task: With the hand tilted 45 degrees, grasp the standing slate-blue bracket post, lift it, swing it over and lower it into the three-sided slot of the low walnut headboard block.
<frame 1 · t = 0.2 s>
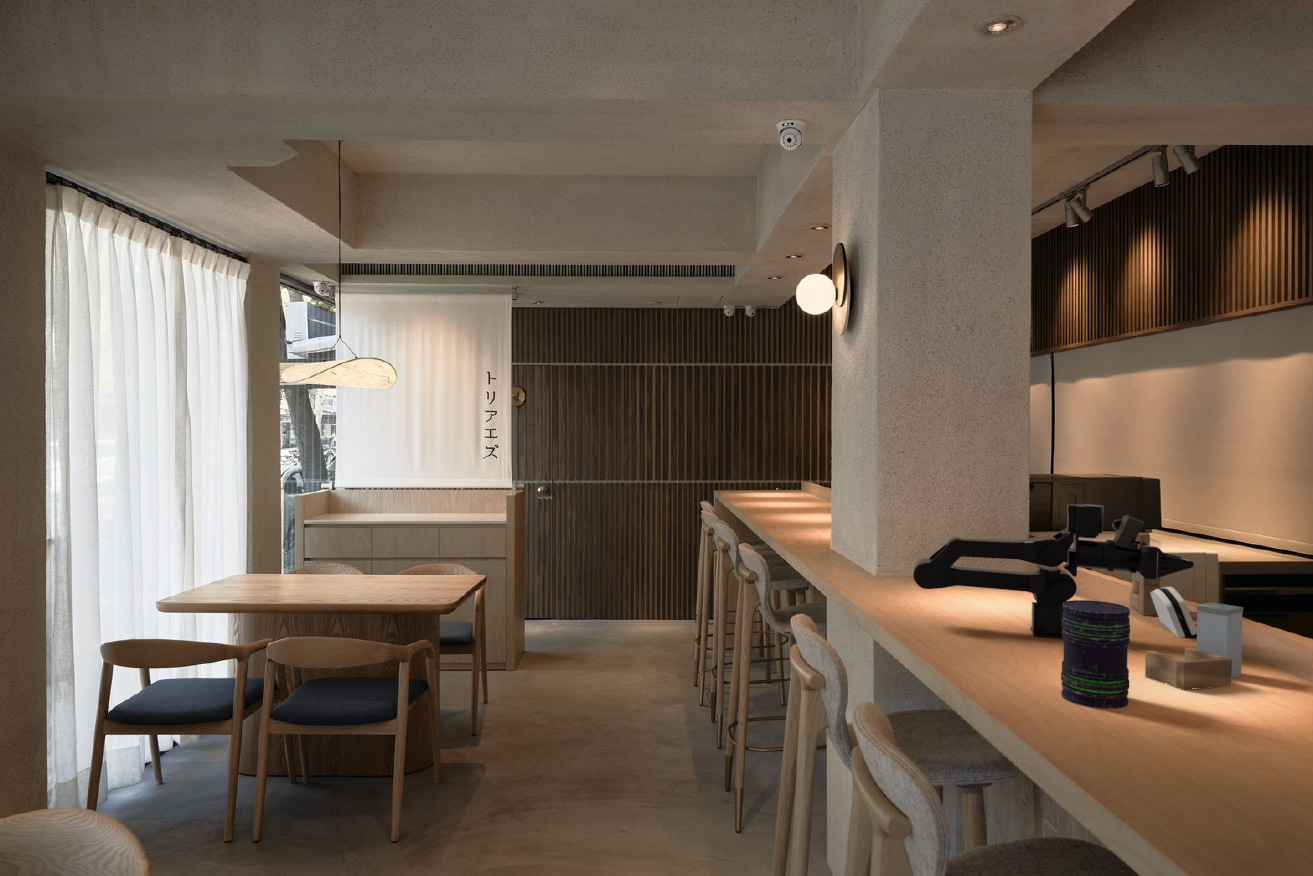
hand: (1186, 562, 177), 17 cm above the counter, tool horizontal, fingers open, 9 cm apart
headboard block: (1182, 679, 153), on the counter
rail post: (1218, 673, 157), on the counter
storage jar: (1094, 700, 142), on the counter
wooden block: (1144, 612, 209), on the counter
hinge: (1174, 630, 191), on the counter
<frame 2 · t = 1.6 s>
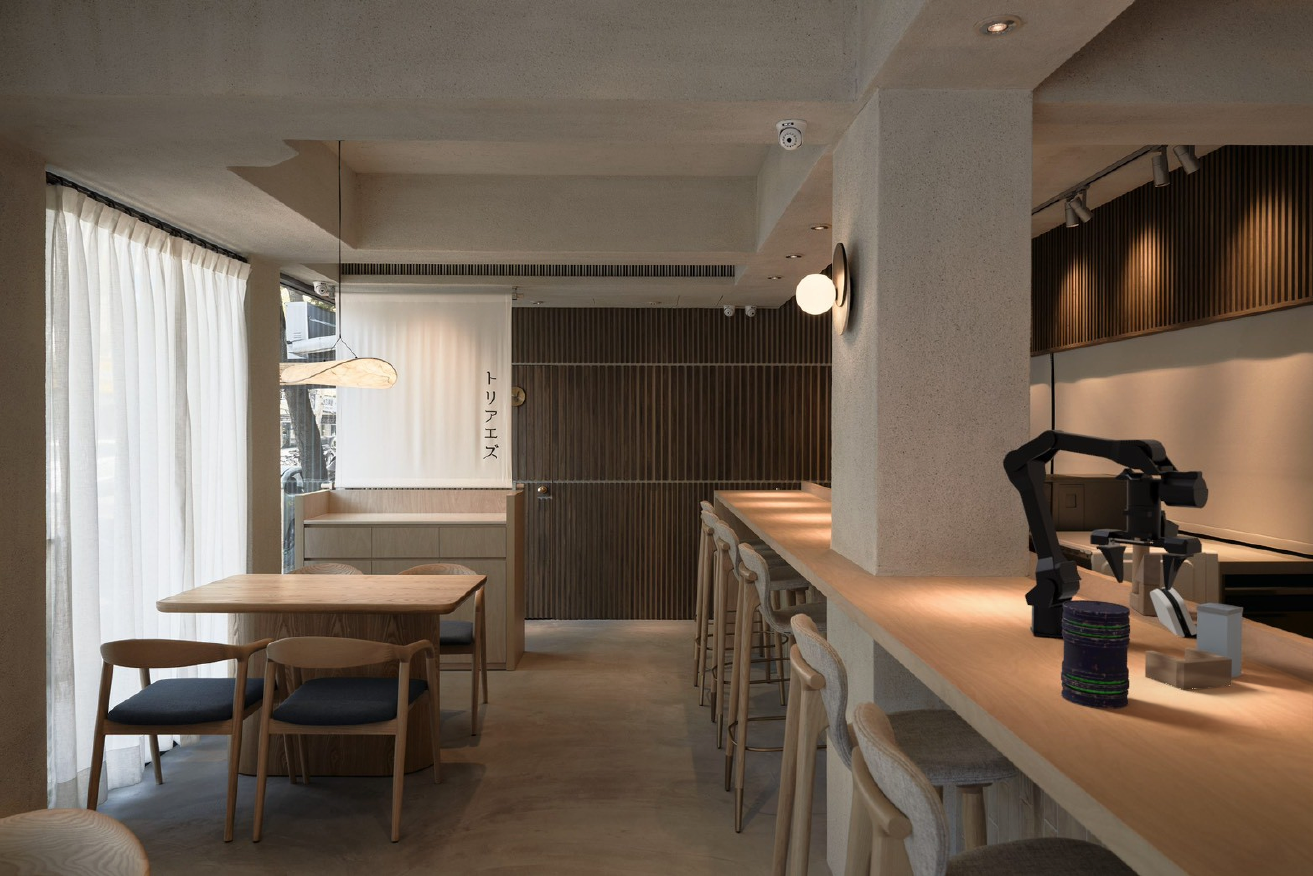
hand: (1143, 586, 169), 13 cm above the counter, tool pointing down, fingers open, 9 cm apart
nothing on the counter moved.
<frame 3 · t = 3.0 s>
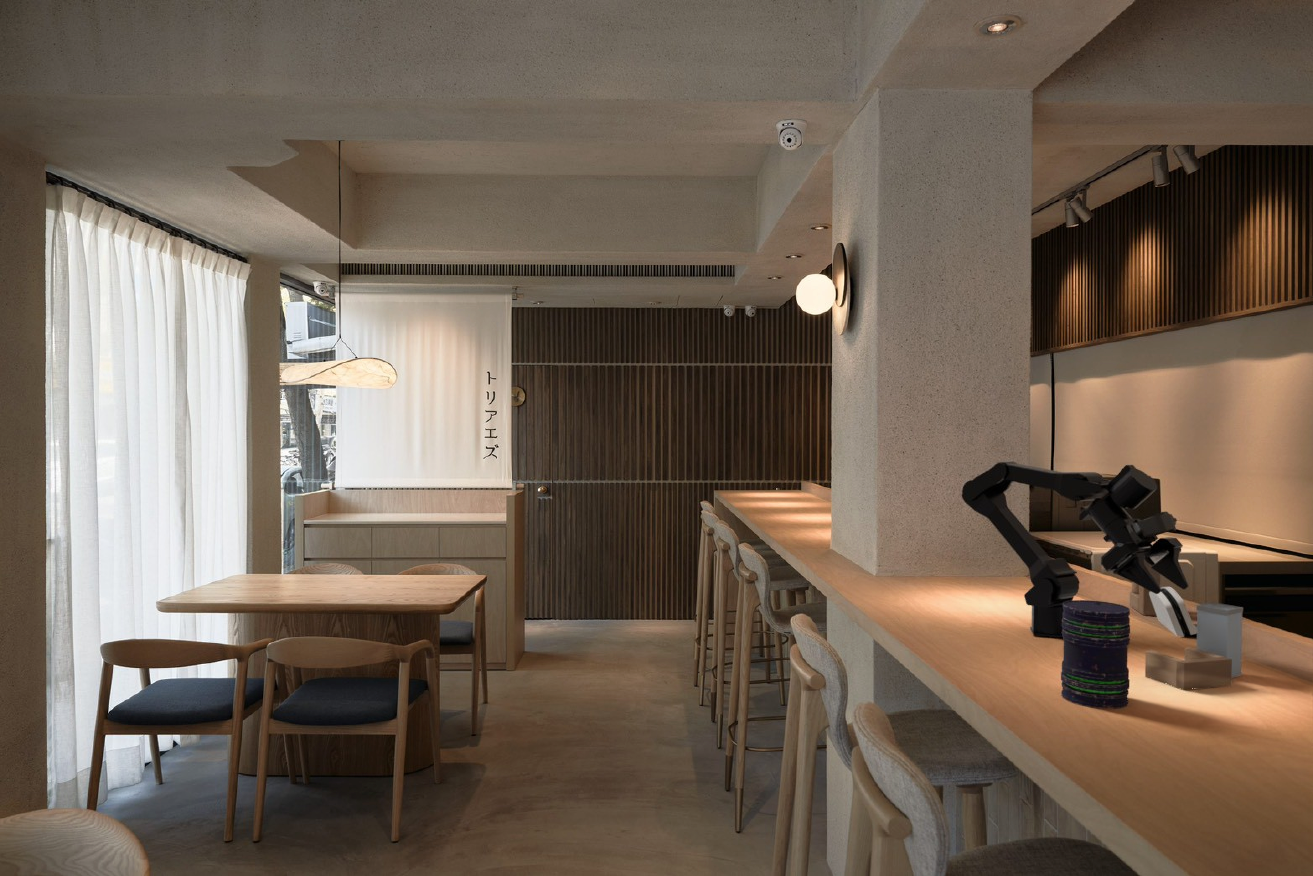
hand: (1173, 590, 163), 13 cm above the counter, tool tilted 45°, fingers open, 9 cm apart
nothing on the counter moved.
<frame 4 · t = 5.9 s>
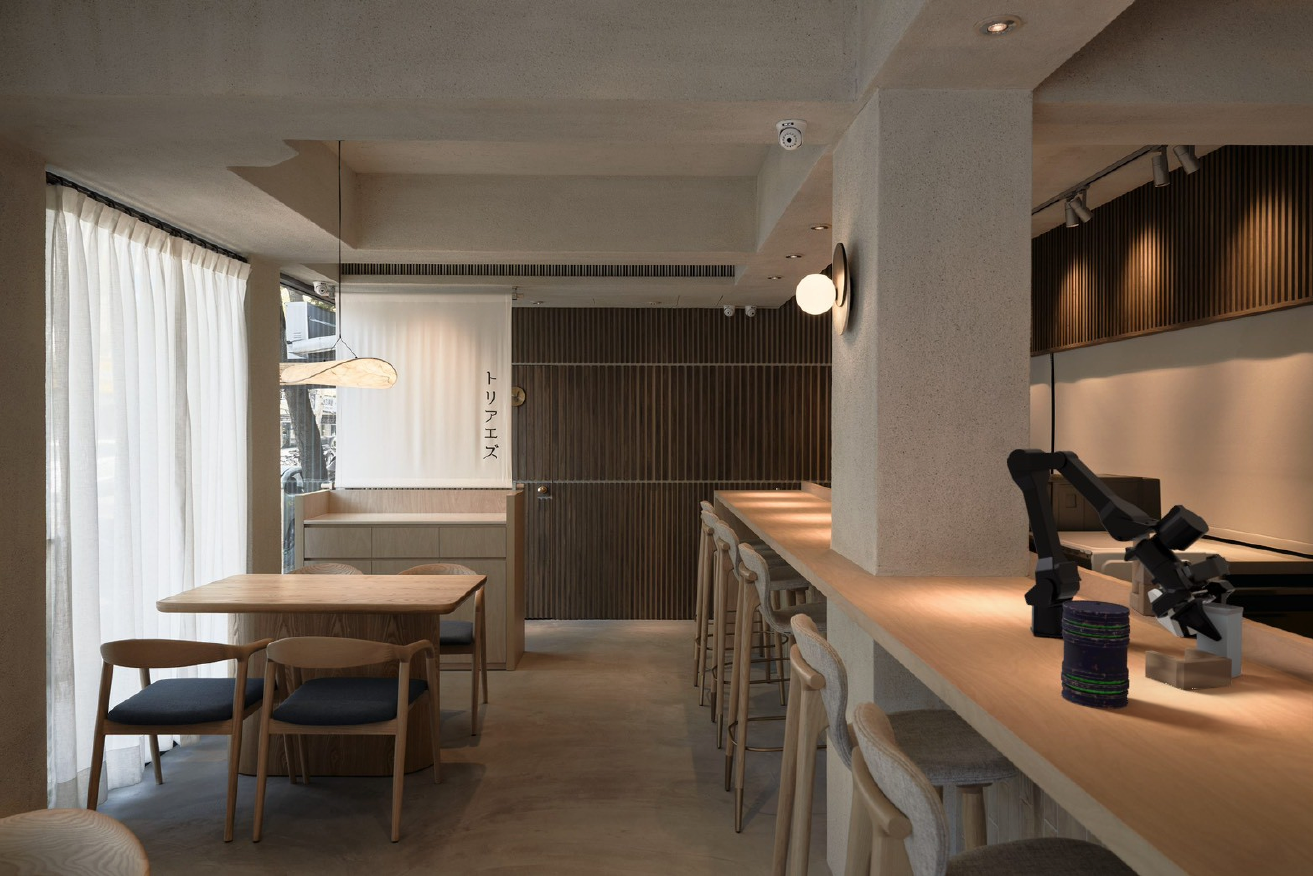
hand: (1227, 638, 155), 7 cm above the counter, tool tilted 45°, fingers closed on rail post, 5 cm apart
rail post: (1218, 673, 157), on the counter, touching gripper
everything else where it was.
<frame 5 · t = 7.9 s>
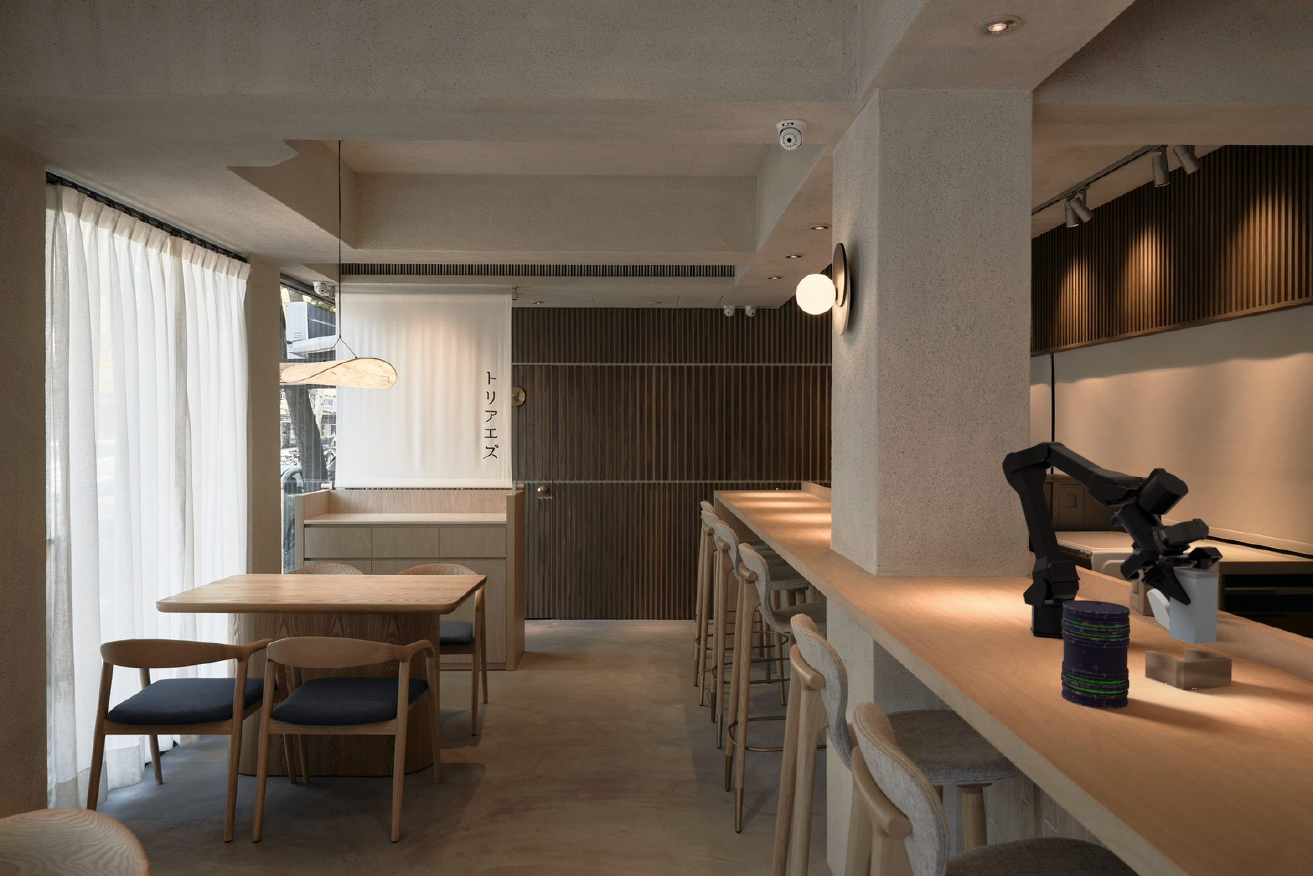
hand: (1200, 603, 152), 13 cm above the counter, tool tilted 45°, fingers closed on rail post, 5 cm apart
rail post: (1192, 639, 153), point 7 cm above the counter, touching gripper
everything else where it was.
when the fingers open (7 cm above the counter, at t = 10.0 s): rail post stays where it is, on the counter.
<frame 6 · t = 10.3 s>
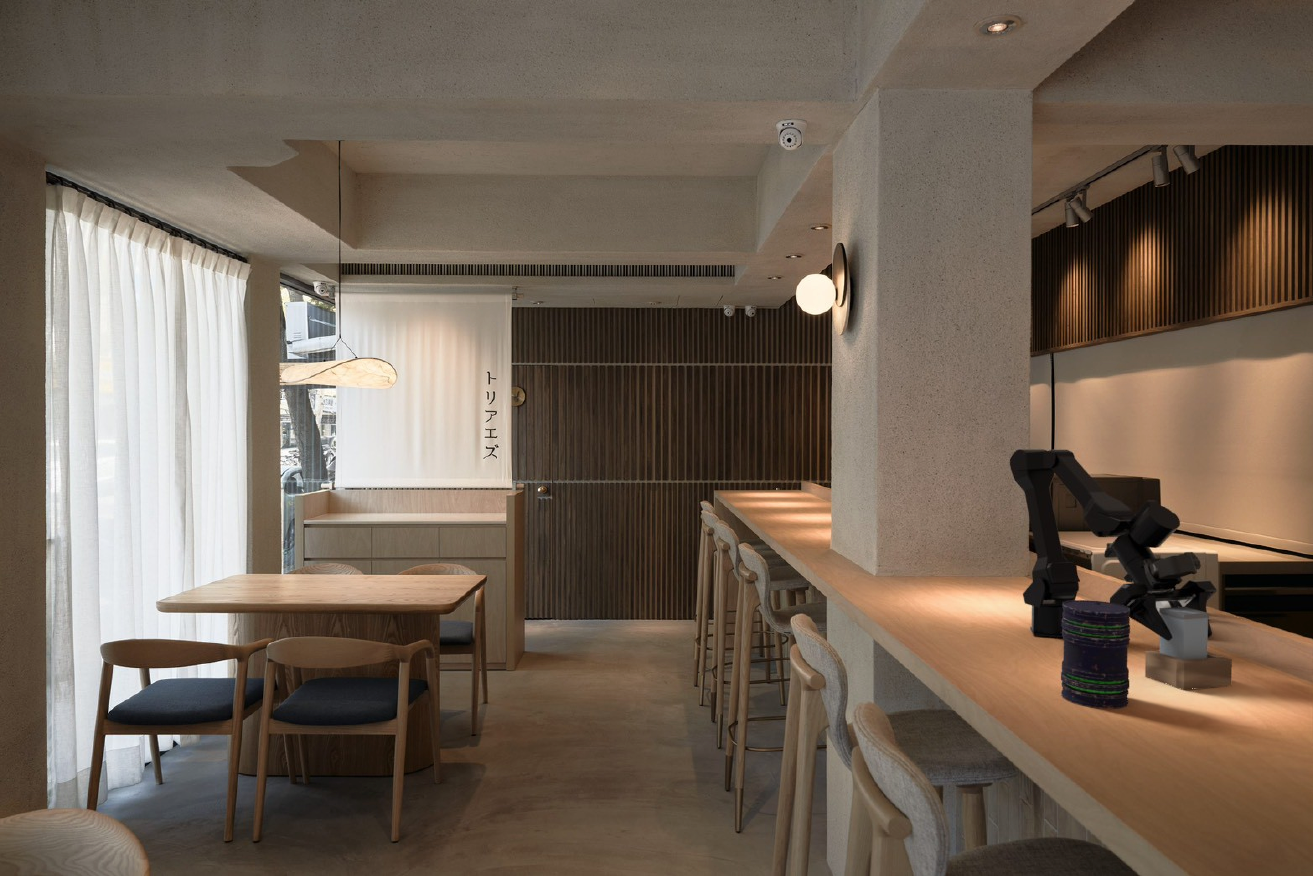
hand: (1190, 638, 151), 8 cm above the counter, tool tilted 45°, fingers open, 8 cm apart
rail post: (1182, 679, 153), on the counter
everything else where it was.
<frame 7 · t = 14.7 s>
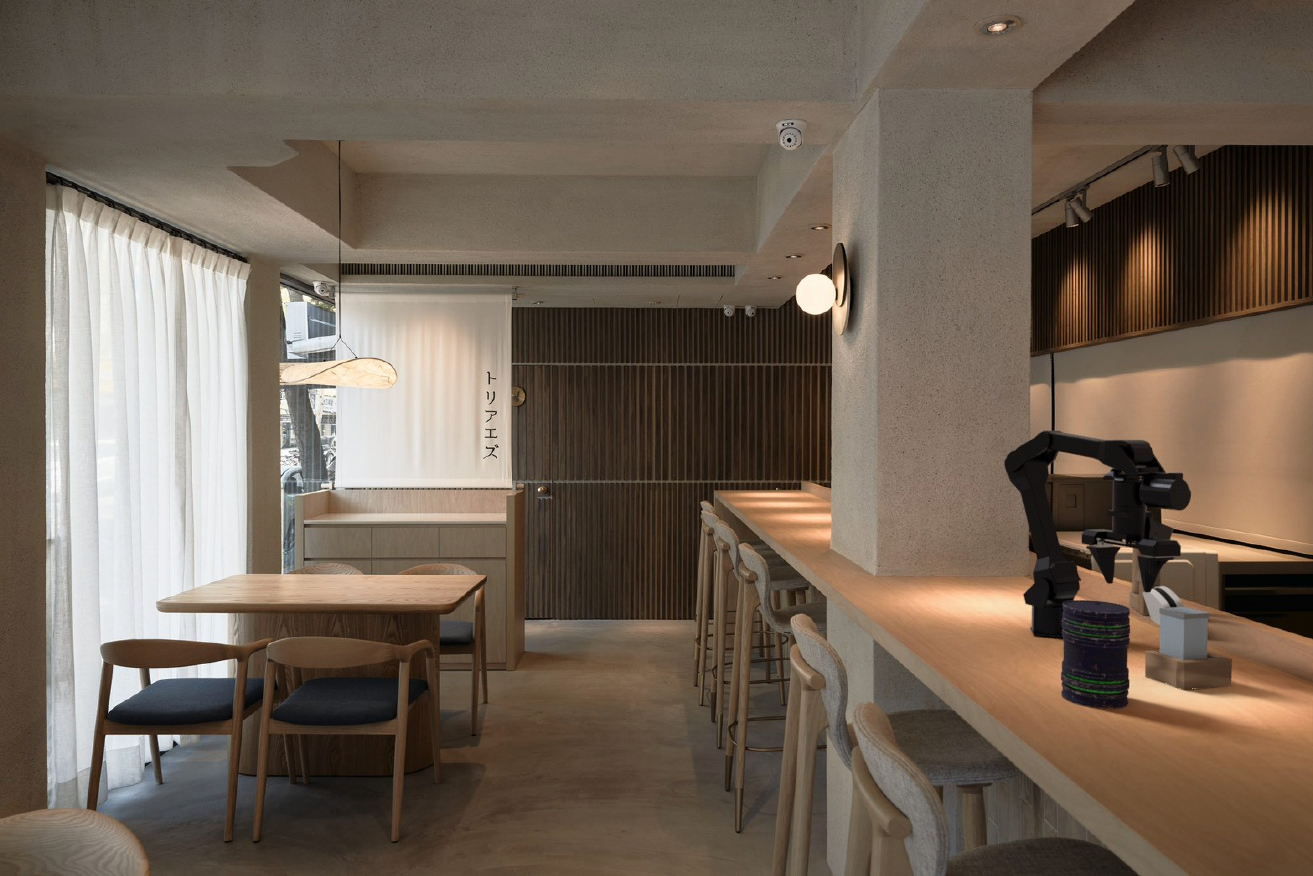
hand: (1128, 587, 168), 13 cm above the counter, tool pointing down, fingers open, 9 cm apart
at the end: rail post 0.0 cm from the headboard block (horizontally); rail post tilted 0°; rail post on the counter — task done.
